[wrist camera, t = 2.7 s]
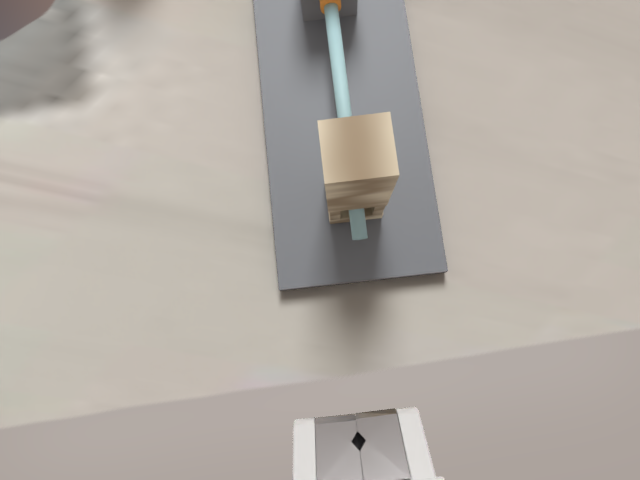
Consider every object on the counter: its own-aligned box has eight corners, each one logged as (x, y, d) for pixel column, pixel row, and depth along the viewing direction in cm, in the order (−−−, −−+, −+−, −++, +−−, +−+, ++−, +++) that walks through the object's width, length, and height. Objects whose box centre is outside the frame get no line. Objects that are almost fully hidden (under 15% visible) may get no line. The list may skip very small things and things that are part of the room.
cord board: (281, 290, 37) (263, 283, 28) (253, -14, 42) (232, -92, 34) (444, 272, 36) (473, 260, 28) (395, -33, 42) (408, -117, 33)
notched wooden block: (329, 224, 36) (324, 183, 25) (324, 178, 37) (317, 120, 26) (381, 218, 36) (399, 174, 25) (375, 172, 36) (390, 111, 26)
